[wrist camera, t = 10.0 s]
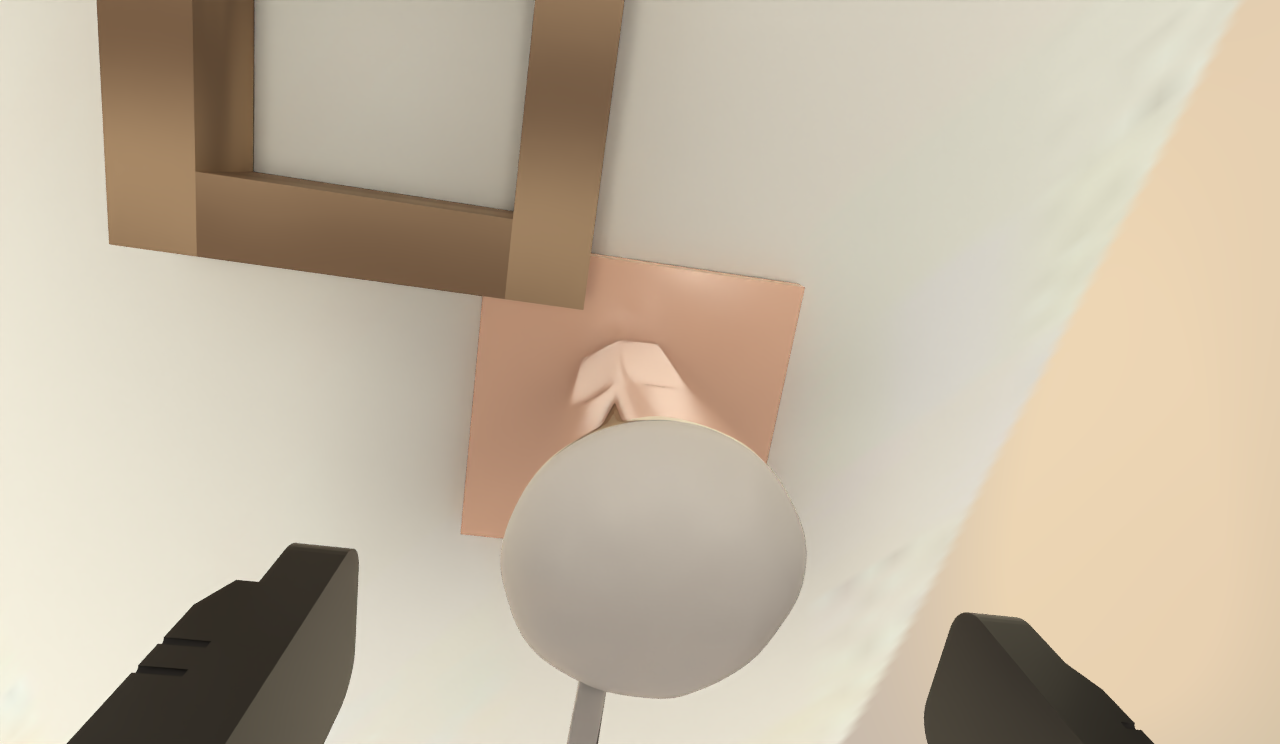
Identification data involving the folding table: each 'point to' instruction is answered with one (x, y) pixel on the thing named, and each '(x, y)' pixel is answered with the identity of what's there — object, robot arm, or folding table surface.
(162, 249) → the square brown frame
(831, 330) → the folding table surface
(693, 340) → the coaster
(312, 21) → the folding table surface
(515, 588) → the milkshake
